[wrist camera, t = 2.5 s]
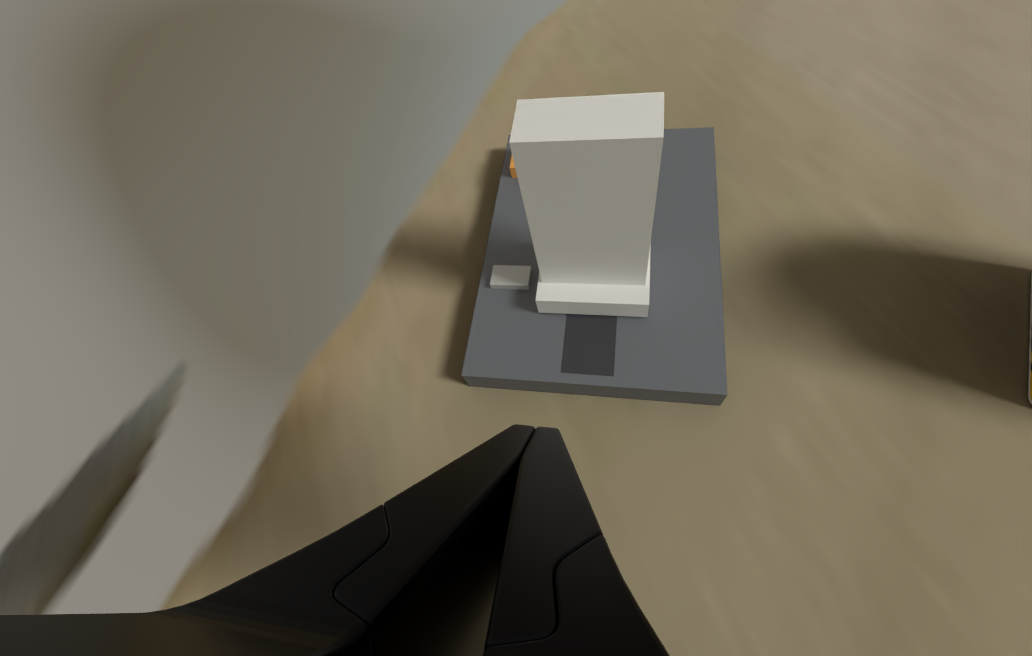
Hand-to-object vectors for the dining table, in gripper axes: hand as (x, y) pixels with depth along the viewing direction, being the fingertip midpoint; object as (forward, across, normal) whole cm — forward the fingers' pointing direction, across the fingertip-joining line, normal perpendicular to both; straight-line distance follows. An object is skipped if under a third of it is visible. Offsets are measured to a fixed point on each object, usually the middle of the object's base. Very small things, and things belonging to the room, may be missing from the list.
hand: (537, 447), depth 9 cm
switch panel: (+19, 0, 0) cm, 19 cm away
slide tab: (+16, 0, +1) cm, 16 cm away
